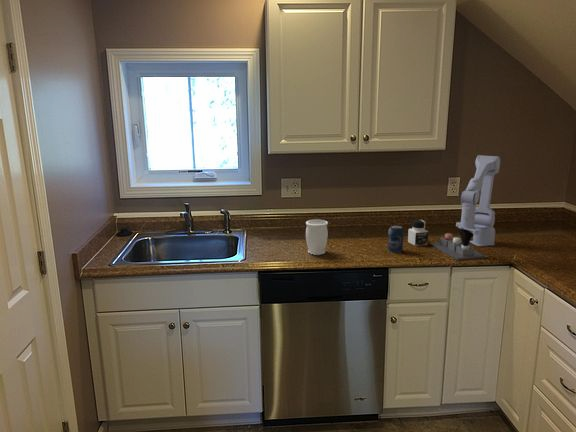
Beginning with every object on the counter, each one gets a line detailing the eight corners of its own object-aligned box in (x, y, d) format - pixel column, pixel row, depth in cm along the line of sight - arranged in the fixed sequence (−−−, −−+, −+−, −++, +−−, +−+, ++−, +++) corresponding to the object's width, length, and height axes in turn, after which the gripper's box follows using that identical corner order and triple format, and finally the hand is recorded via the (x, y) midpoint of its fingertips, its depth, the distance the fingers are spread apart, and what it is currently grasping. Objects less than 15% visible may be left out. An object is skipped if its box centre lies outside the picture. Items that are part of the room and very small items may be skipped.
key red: (449, 238, 222) (450, 233, 221) (453, 241, 218) (454, 235, 218) (443, 239, 221) (443, 233, 220) (447, 241, 218) (447, 235, 217)
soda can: (387, 252, 212) (389, 228, 209) (387, 248, 219) (388, 224, 216) (403, 253, 211) (404, 229, 208) (401, 249, 217) (403, 225, 214)
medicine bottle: (415, 246, 221) (416, 222, 218) (407, 242, 228) (408, 219, 225) (427, 244, 223) (429, 221, 220) (420, 240, 230) (421, 218, 227)
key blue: (466, 250, 209) (466, 243, 208) (470, 252, 205) (471, 246, 205) (459, 250, 208) (459, 244, 207) (463, 253, 205) (464, 246, 204)
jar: (305, 248, 219) (305, 219, 215) (326, 248, 219) (327, 219, 215) (305, 256, 209) (305, 225, 205) (328, 256, 209) (328, 225, 205)
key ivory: (457, 243, 215) (458, 237, 214) (462, 245, 212) (462, 239, 211) (450, 243, 214) (451, 237, 214) (455, 245, 211) (455, 239, 210)
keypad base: (454, 242, 227) (455, 234, 226) (484, 257, 204) (485, 249, 203) (429, 244, 224) (430, 236, 223) (457, 260, 201) (457, 251, 200)
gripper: (451, 213, 209) (448, 241, 212) (469, 221, 195) (466, 251, 198) (464, 212, 210) (462, 240, 213) (484, 220, 196) (481, 249, 200)
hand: (465, 245), depth 206 cm, fingers closed, pressing on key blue
